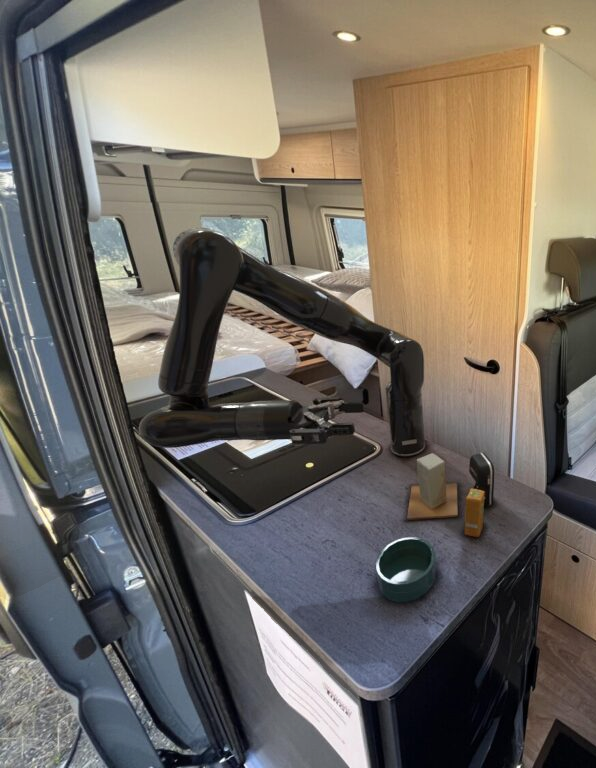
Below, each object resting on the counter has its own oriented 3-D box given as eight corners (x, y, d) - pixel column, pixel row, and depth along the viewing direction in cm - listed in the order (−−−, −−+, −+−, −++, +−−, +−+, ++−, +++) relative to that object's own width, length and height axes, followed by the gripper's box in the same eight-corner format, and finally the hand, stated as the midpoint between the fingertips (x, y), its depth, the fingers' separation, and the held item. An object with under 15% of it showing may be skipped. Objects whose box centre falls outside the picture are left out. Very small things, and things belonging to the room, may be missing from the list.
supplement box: (480, 538, 81) (480, 500, 77) (464, 535, 82) (464, 497, 78) (484, 526, 84) (484, 490, 80) (469, 523, 85) (468, 487, 81)
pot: (383, 556, 76) (380, 539, 74) (436, 551, 78) (436, 535, 76) (373, 605, 67) (370, 587, 65) (434, 599, 68) (433, 581, 66)
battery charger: (467, 492, 94) (467, 452, 90) (481, 487, 96) (482, 449, 91) (479, 510, 89) (479, 469, 84) (494, 505, 90) (495, 465, 86)
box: (447, 501, 90) (445, 462, 86) (431, 510, 87) (429, 470, 83) (434, 490, 93) (432, 451, 89) (418, 498, 91) (416, 458, 86)
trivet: (411, 487, 95) (411, 485, 95) (457, 485, 96) (457, 483, 96) (407, 520, 85) (407, 518, 85) (457, 516, 87) (457, 514, 86)
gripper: (248, 422, 66) (347, 418, 69) (281, 386, 79) (364, 384, 81) (258, 458, 69) (353, 453, 72) (288, 418, 82) (368, 416, 84)
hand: (359, 417), depth 77 cm, fingers open, 8 cm apart
